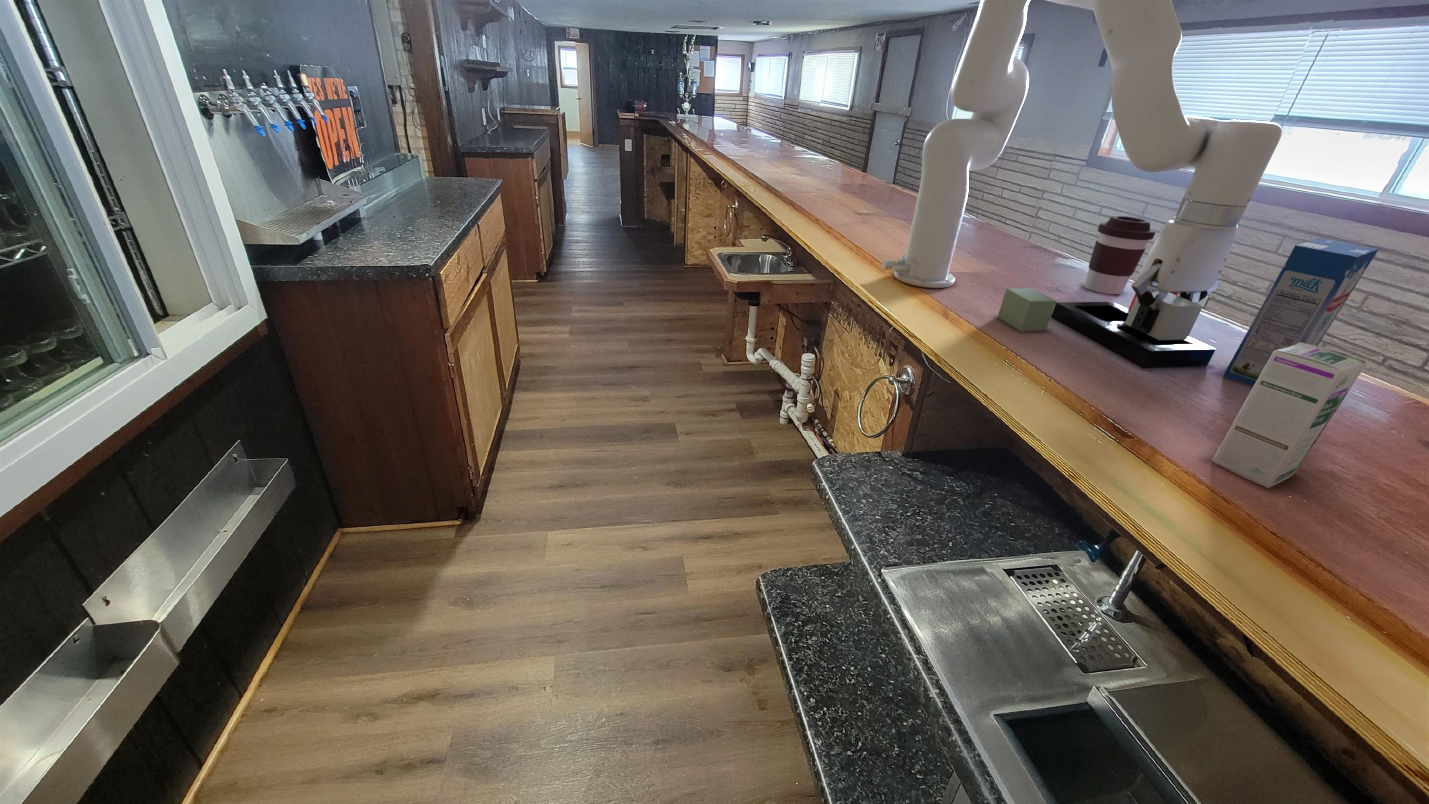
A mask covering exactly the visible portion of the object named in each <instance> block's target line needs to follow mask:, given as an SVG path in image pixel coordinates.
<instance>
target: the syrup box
mask: <svg viewBox="0 0 1429 804" xmlns="http://www.w3.org/2000/svg"><path fill="white" fill-rule="evenodd" d="M1366 366H1367V361H1366V360H1363V359H1361V358H1359V357H1355V356H1352V355H1350V354H1348V353H1344V352H1341V351H1337V350H1334V349H1332V348H1331V349H1330V348H1328V347H1323V346H1319V345H1318V346H1315V345H1310V344H1305V343H1302V342H1299V343H1297V344H1295V345H1292V346H1288V347H1284V348H1282V349H1279V350H1275V351H1273V353H1272V355H1271V357H1270V358H1269V360H1268V362H1267V364H1266V365H1265V367H1264V369H1263V371H1262V373H1261V374H1260V376H1259V378H1258V380H1257V381H1256V383H1255V385H1254V386H1252V388H1251V390H1250V392H1249V393H1248V395H1247V397H1246V399H1245V401H1244V402H1243V404H1242V406H1241V408H1240V409H1239V411H1238V413H1237V415H1236V417H1235V418H1234V420H1233V422H1232V424H1231V426H1230V427H1229V429H1228V430H1227V433H1226V434H1225V436H1224V438H1223V439H1222V442H1221V444H1220V445H1219V447H1218V448H1217V450H1216V452H1215V454H1214V456H1213V458H1212V462H1213V463H1215V464H1216V465H1218V466H1219V467H1222V468H1224V469H1225V470H1228V471H1230V472H1232V473H1233V474H1236V475H1238V476H1240V477H1242V478H1244V479H1247V480H1249V481H1251V482H1253V483H1255V484H1258V485H1260V486H1262V487H1264V488H1266V489H1270V488H1272V487H1273V486H1276V485H1279V484H1280V483H1282V482H1284V481H1285V480H1287V479H1289V478H1291V477H1293V476H1294V475H1296V472H1297V471H1298V469H1299V468H1300V466H1301V465H1302V463H1303V462H1304V460H1305V459H1306V457H1307V456H1308V454H1309V453H1310V451H1311V449H1312V448H1313V446H1314V445H1315V443H1316V442H1317V440H1318V439H1319V438H1320V436H1321V435H1322V434H1323V431H1324V430H1325V428H1326V427H1327V425H1328V424H1329V423H1330V421H1331V419H1332V418H1333V416H1334V414H1335V413H1336V412H1337V411H1338V409H1339V407H1340V406H1341V404H1342V403H1343V401H1344V399H1345V398H1346V396H1347V395H1348V393H1349V391H1350V390H1351V389H1352V388H1353V385H1354V384H1355V382H1356V381H1357V379H1358V378H1359V376H1360V375H1361V373H1362V372H1363V370H1364V369H1365V367H1366Z"/></svg>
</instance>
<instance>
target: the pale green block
mask: <svg viewBox="0 0 1429 804" xmlns="http://www.w3.org/2000/svg"><path fill="white" fill-rule="evenodd" d="M1056 302H1057V300H1055V299H1053V298H1052V297H1050V296H1048V295H1046V294H1044V293H1041V292H1040V291H1038V290H1036V289H1034V288H1033V287H1006V289H1005V292H1004V295H1003V298H1002V300H1001V305H1000V307H999V311H998V314H997V318H999V320H1002V321H1003V322H1005V323H1007V324H1008V325H1010V326H1011V327H1013V328H1014V329H1016V330H1018V331H1019V332H1046V331H1047V328H1048V327H1049V323H1050V320H1051V319H1052V318H1051V316H1052V313H1053V310H1054V307H1055V304H1056Z"/></svg>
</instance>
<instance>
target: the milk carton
mask: <svg viewBox="0 0 1429 804" xmlns="http://www.w3.org/2000/svg"><path fill="white" fill-rule="evenodd" d="M1379 250H1380V249H1379V248H1376V247H1371V246H1370V247H1369V246H1365V245H1358V244H1353V243H1348V242H1341V241H1336V240H1331V239H1325V238H1316V239H1313V240H1312V239H1311V240H1309V241H1305V242H1301V243H1299V244H1298V243H1297V244H1295V245H1294V247H1293V249H1292V250H1291V252H1290V254H1289V256H1288V257H1287V260H1286V261H1285V262H1284V265H1283V267H1282V268H1281V270H1280V272H1279V274H1278V275H1277V278H1276V279H1275V281H1274V282H1273V284H1272V287H1271V288H1270V290H1269V292H1268V294H1267V295H1266V297H1265V298H1264V301H1263V303H1262V304H1261V306H1260V308H1259V309H1258V312H1257V314H1256V315H1255V317H1254V319H1253V321H1252V323H1251V324H1250V326H1249V328H1248V330H1247V331H1246V333H1245V335H1244V337H1243V338H1242V340H1241V342H1240V343H1239V346H1238V348H1237V349H1236V352H1235V353H1234V355H1233V357H1232V358H1231V360H1230V362H1229V364H1228V366H1227V367H1226V369H1225V371H1224V373H1223V375H1222V376H1223V377H1226V378H1229V379H1231V380H1235V381H1237V382H1240V383H1244V384H1246V385H1249V386H1252V387H1254V385H1255V383H1256V381H1257V380H1258V378H1259V376H1260V374H1261V373H1262V371H1263V369H1264V367H1265V365H1266V364H1267V362H1268V360H1269V358H1270V357H1271V355H1272V353H1273V351H1275V350H1279V349H1282V348H1284V347H1288V346H1292V345H1295V344H1297V343H1299V342H1302V343H1305V344H1310V345H1315V346H1319V345H1320V344H1321V341H1323V339H1324V337H1325V336H1326V334H1327V332H1328V331H1329V330H1330V328H1331V326H1332V324H1333V323H1334V321H1335V319H1336V318H1337V316H1338V315H1339V314H1340V312H1341V310H1342V309H1343V307H1344V305H1345V304H1346V302H1347V301H1348V299H1349V297H1350V296H1351V294H1352V292H1353V291H1354V289H1355V288H1356V286H1357V285H1358V283H1359V281H1360V280H1361V278H1362V277H1363V275H1364V273H1366V270H1367V269H1368V267H1369V266H1370V264H1371V262H1372V261H1373V259H1374V258H1375V257H1376V255H1377V253H1378V251H1379Z"/></svg>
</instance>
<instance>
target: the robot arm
mask: <svg viewBox="0 0 1429 804" xmlns="http://www.w3.org/2000/svg"><path fill="white" fill-rule="evenodd" d="M1030 1H1031V0H980V1H979V5H978V8H977V12H976V16H975V18H974V21H973V25H972V27H971V30H970V32H969V35H968V38H967V40H966V43H965V46H964V49H963V52H962V55H961V57H960V60H959V63H958V66H957V69H956V71H955V74H954V77H953V80H952V84H951V89H950V100H951V102H952V105H953V106H954V107H955V108H957V109H958V110H959V111H962V112H966V113H967V112H968V113H970V115H969V116H968V117H969V118H950V119H947V120H944V121H941V122H939V123H938V124H937V125H935V126H934V127H933V128H932V129H931V130H930V131H929V132H928V134H927V135H926V138H925V140H924V143H923V147H922V153H921V175H920V182H919V189H918V193H917V199H916V204H915V208H914V213H913V217H912V223H911V227H910V232H909V237H908V241H907V246H906V251H905V254H902V255H900V257H899V258H898V259H896V260H883V261H882V263H881V268H882V270H885V271H886V270H892V272H894V274H893V276H894V278H895V279H896V280H897V281H900V282H902V283H903V284H904V283H905V284H907V285H911V286H915V287H920V288H921V287H922V288H931V289H942V288H948V287H951V286H953V285H954V284H955V279H956V277H954V275H952V274H951V273H950V270H951V269H950V268H951V264H952V261H953V255H954V253H955V248H956V244H957V241H958V236H959V233H960V229H961V225H962V221H963V217H964V214H965V210H966V205H967V201H968V195H969V171H979V170H983V169H985V168H988V167H989V166H991V165H992V164H994V163H995V162H996V161H997V160H998V158H999V157H1000V156H1001V154H1002V152H1003V150H1004V149H1005V146H1006V145H1007V142H1008V140H1009V137H1010V135H1011V133H1012V130H1013V128H1014V126H1015V123H1016V121H1017V118H1018V116H1019V113H1020V111H1021V109H1022V106H1023V104H1024V102H1025V100H1026V96H1027V93H1028V89H1029V83H1030V76H1029V71H1028V68H1027V65H1026V64H1025V63H1024V62H1023V61H1022V60H1021V59H1019V58H1018V57H1017V56H1016V55H1015V54H1016V52H1017V49H1018V46H1019V44H1020V41H1021V39H1022V36H1023V34H1024V31H1025V27H1026V24H1027V15H1028V6H1029V3H1030ZM1045 1H1047V2H1051V3H1055V4H1059V5H1064V6H1070V7H1075V8H1080V9H1085V10H1089V11H1093V14H1094V18H1095V21H1096V24H1097V26H1098V29H1099V33H1100V35H1101V39H1102V42H1103V44H1104V45H1103V46H1104V47H1105V52H1106V54H1107V57H1108V60H1109V63H1110V67H1111V83H1110V84H1111V85H1110V86H1111V87H1110V88H1111V109H1112V114H1113V120H1114V123H1115V126H1116V129H1117V133H1118V135H1119V138H1120V142H1121V144H1122V147H1123V151H1124V152H1125V154H1126V157H1127V159H1128V160H1129V162H1130V163H1131V164H1132V165H1133V166H1134V167H1135V168H1137V169H1138V170H1141V171H1143V172H1147V173H1161V172H1171V171H1187V170H1188V171H1189V170H1191V171H1193V170H1194V172H1193V174H1192V176H1191V178H1190V180H1189V183H1188V185H1187V187H1186V189H1185V192H1184V194H1183V197H1182V199H1181V202H1180V204H1179V206H1178V208H1177V210H1176V213H1175V215H1174V218H1173V220H1168V222H1167V223H1166V224H1165V226H1164V227H1163V228H1162V230H1161V232H1159V234H1158V236H1157V238H1156V239H1155V241H1154V242H1153V245H1152V246H1151V248H1150V250H1149V252H1148V254H1147V256H1146V258H1145V260H1144V262H1143V264H1142V266H1141V268H1140V270H1139V273H1138V275H1137V279H1135V281H1133V283H1131V289H1132V290H1133V291H1134V294H1135V293H1136V295H1137V297H1138V299H1139V300H1138V303H1139V304H1140V306H1139V308H1138V311H1137V313H1136V315H1135V318H1134V320H1133V322H1132V325H1131V326H1132V327H1133V328H1135V329H1137V330H1139V331H1141V332H1143V333H1150V331H1151V329H1152V327H1153V325H1154V322H1155V320H1156V318H1157V316H1158V314H1159V311H1160V310H1158V309H1157V308H1158V307H1159V305H1160V304H1161V302H1162V301H1163V300H1164V298H1165V297H1166V295H1167V294H1168V293H1169V292H1178V294H1177V296H1179V297H1182V298H1184V299H1187V300H1189V301H1192V302H1194V303H1197V304H1199V303H1200V302H1201V301H1203V300H1204V299H1205V298H1206V297H1207V296H1208V295H1210V294H1212V293H1213V292H1214V291H1216V290H1217V289H1218V288H1219V287H1220V282H1219V278H1220V276H1221V273H1222V272H1223V270H1224V267H1225V265H1226V263H1227V260H1228V258H1229V256H1230V253H1231V251H1232V248H1233V244H1234V242H1235V239H1236V235H1237V231H1238V226H1239V225H1240V221H1241V220H1242V218H1243V216H1244V214H1245V211H1246V210H1247V208H1248V206H1249V203H1250V201H1251V199H1252V197H1253V196H1254V194H1255V192H1256V189H1257V187H1258V186H1259V183H1260V181H1261V179H1262V178H1263V175H1264V173H1265V171H1266V169H1267V167H1268V165H1269V163H1270V161H1271V159H1272V156H1273V155H1274V153H1275V151H1276V148H1277V146H1278V144H1279V143H1280V140H1281V138H1282V135H1283V128H1282V126H1281V125H1280V124H1278V123H1277V122H1271V121H1260V120H1244V119H1243V120H1242V119H1241V120H1240V119H1238V120H1237V119H1230V120H1220V119H1215V118H1210V117H1205V116H1201V115H1194V114H1193V115H1191V114H1188V115H1187V114H1184V112H1183V109H1182V108H1183V107H1182V106H1181V103H1180V100H1179V96H1178V93H1177V90H1176V86H1175V81H1174V74H1173V64H1174V63H1173V62H1174V58H1175V55H1176V53H1177V51H1178V49H1179V47H1180V45H1181V42H1182V38H1183V32H1182V31H1183V30H1182V27H1181V24H1180V22H1179V19H1178V16H1177V12H1176V10H1175V6H1174V3H1173V1H1172V0H1045ZM1015 56H1016V57H1015ZM1154 291H1157V292H1158V293H1157V295H1156V296H1155V298H1154V297H1153V295H1152V294H1153V293H1154Z"/></svg>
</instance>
